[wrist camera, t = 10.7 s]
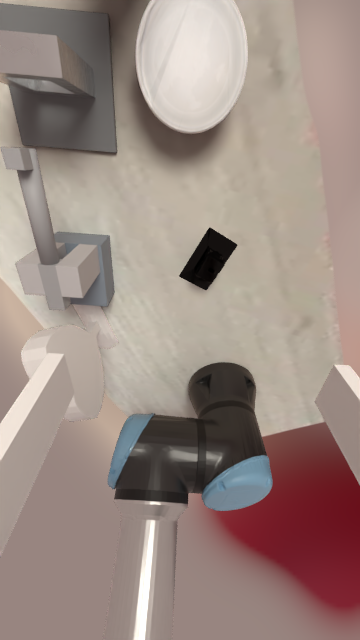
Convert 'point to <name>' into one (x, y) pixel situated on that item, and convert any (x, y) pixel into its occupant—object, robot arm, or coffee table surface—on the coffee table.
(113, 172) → the coffee table surface
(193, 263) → the black phone stand
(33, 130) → the mat
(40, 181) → the vise
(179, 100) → the ramekin
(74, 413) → the heart sculpture
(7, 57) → the ring
